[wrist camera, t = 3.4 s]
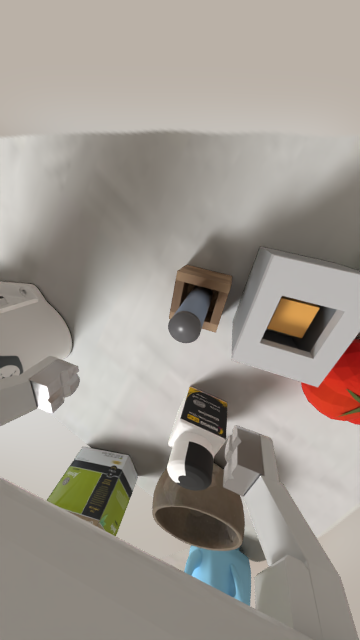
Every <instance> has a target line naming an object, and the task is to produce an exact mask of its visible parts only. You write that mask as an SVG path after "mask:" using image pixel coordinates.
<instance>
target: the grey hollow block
mask: <svg viewBox="0 0 360 640" xmlns="http://www.w3.org/2000/svg"><path fill="white" fill-rule="evenodd" d="M282 296H286V297H290V298H293V299H297V300H301V301H305V302H309V303H313V304H316V305H317V306H318V307H319V310H318V312H317V314H316V315H315V317H314V319H313V320H312V322H311V324H310V325H309V327H308V329H307V330H306V332H305V334H304V336H303V337H302V338H299V337H295V336H292V335H288V334H285V333H281V332H278V331H274V330H271V329H267V326H268V324H269V322H270V320H271V318H272V316H273V314H274V311H275V309H276V307H277V305H278V303H279V301H280V299H281V297H282ZM359 332H360V271H358V270H355V269H352V268H349V267H346V266H343V265H340V264H337V263H333V262H329V261H324V260H320V259H315V258H311V257H306V256H302V255H297V254H293V253H288V252H284V251H279V250H275V249H270V248H266V247H261V246H260V248H259V251H258V254H257V256H256V259H255V262H254V264H253V267H252V270H251V273H250V275H249V278H248V281H247V284H246V286H245V289H244V292H243V295H242V297H241V300H240V303H239V306H238V308H237V311H236V314H235V317H234V319H233V329H232V360H233V361H236V362H239V363H242V364H245V365H248V366H252V367H255V368H258V369H261V370H264V371H267V372H271V373H274V374H277V375H280V376H283V377H287V378H290V379H293V380H296V381H299V382H302V383H306V384H309V385H312V386H315V387H319V385H320V384H321V383H322V381H323V380H324V379H325V377H326V376H327V375H328V373H329V372H330V371H331V369H332V368H333V367H334V365H335V364H336V363H337V361H338V360H339V359H340V357H341V356H342V355H343V353H344V352H345V351H346V349H347V348H348V347H349V345H350V344H351V343H352V341H353V340H354V339H355V337H356V336H357V335H358V333H359Z"/></svg>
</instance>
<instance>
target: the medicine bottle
mask: <svg viewBox="0 0 360 640" xmlns="http://www.w3.org/2000/svg"><path fill="white" fill-rule="evenodd" d="M226 425H227V402H225V401H223V400H221V399H218V398H216V397H214V396H212V395H209V394H207V393H205V392H202V391H200V390H198V389H196V388H193V387H189V389H188V391H187V393H186V395H185V397H184V399H183V401H182V404H181V406H180V408H179V410H178V413H177V416H176V419H175V423H174V426H173V429H172V432H171V435H170V438H169V441H168V445H169V446H170V447H173V448H172V451H171V455H170V458H169V462H168V465H167V471H168V474H169V476H170V477H171V479H172V480H173V481H174V482H176V483H177V484H178V485H180V486H181V487H183V488H185V489H188V490H193V491H199V490H205V489H207V488H208V487H209V486H210V485H211V483H212V473H213V462H214V456H215V455H216V453H217V452H218V451H219V449H220V448H221V447H222V446H223V444H224V443H225V441H226Z"/></svg>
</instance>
